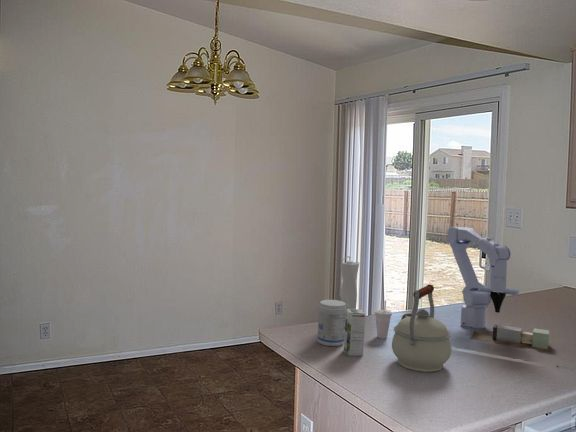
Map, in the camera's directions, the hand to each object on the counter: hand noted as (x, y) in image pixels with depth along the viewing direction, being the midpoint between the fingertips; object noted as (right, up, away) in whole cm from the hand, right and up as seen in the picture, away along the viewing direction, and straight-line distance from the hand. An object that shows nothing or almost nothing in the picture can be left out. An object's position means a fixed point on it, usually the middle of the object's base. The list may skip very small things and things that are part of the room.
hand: (497, 312), depth 194 cm
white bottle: (-58, -7, +8) cm, 59 cm away
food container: (-34, -9, -10) cm, 36 cm away
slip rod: (+4, -9, -9) cm, 14 cm away
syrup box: (-59, -9, -25) cm, 65 cm away
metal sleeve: (+1, -9, -7) cm, 12 cm away
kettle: (-38, -10, -33) cm, 51 cm away
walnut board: (+1, -10, -8) cm, 13 cm away
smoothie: (-46, -9, -5) cm, 47 cm away
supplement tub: (-66, -8, -15) cm, 68 cm away
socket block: (+10, -10, -13) cm, 19 cm away
